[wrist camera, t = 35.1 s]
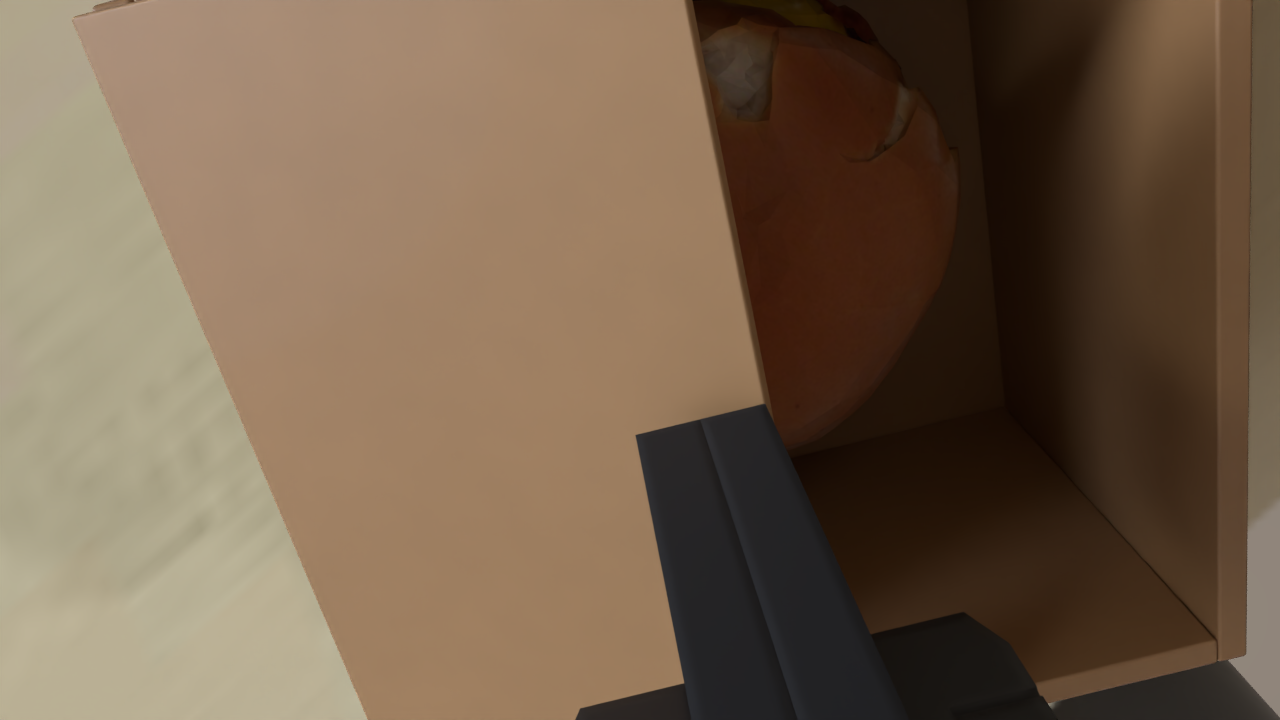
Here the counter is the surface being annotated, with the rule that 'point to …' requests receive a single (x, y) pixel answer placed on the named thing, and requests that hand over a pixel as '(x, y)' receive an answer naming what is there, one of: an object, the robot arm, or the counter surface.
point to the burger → (827, 198)
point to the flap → (452, 312)
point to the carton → (1066, 345)
